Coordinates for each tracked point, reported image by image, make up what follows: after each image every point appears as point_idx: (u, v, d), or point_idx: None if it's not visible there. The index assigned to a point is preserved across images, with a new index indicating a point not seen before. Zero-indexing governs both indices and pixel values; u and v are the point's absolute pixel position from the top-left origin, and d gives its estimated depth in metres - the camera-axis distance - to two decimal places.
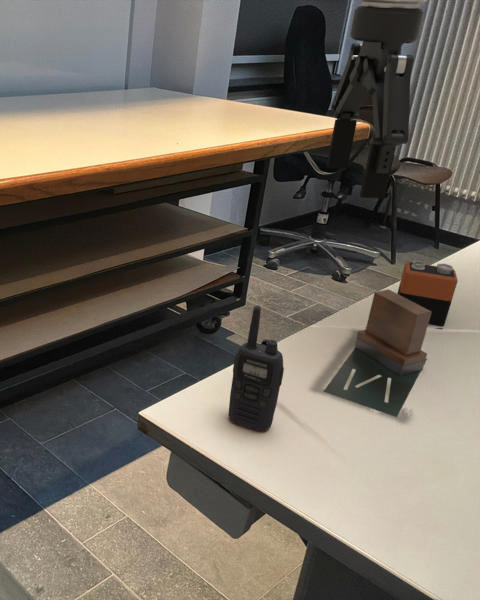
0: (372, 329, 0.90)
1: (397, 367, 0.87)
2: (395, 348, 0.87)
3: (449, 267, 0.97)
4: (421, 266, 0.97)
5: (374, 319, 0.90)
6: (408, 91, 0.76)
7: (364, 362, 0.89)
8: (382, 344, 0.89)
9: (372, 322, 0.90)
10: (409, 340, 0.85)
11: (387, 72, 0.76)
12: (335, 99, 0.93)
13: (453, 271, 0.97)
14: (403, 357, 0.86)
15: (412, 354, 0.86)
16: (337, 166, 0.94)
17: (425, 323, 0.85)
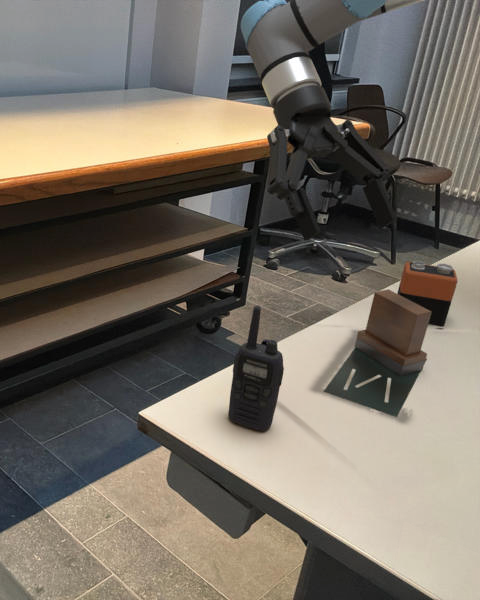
0: (372, 329, 0.90)
1: (397, 367, 0.87)
2: (395, 348, 0.87)
3: (449, 267, 0.97)
4: (421, 266, 0.97)
5: (374, 319, 0.90)
6: (278, 149, 0.92)
7: (364, 362, 0.89)
8: (382, 344, 0.89)
9: (372, 322, 0.90)
10: (409, 340, 0.85)
11: None
12: None
13: (453, 271, 0.97)
14: (403, 357, 0.86)
15: (412, 354, 0.86)
16: (385, 223, 0.95)
17: (425, 323, 0.85)
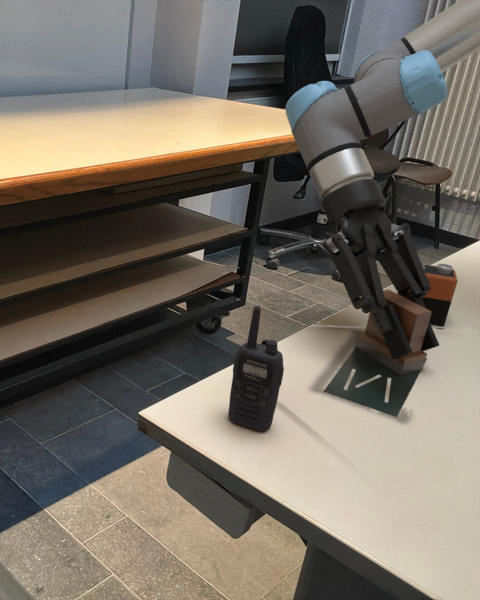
0: (372, 329, 0.90)
1: (397, 367, 0.87)
2: None
3: (449, 267, 0.97)
4: None
5: None
6: (348, 262, 0.86)
7: (364, 362, 0.89)
8: (382, 344, 0.89)
9: (372, 322, 0.90)
10: (409, 340, 0.85)
11: None
12: None
13: (453, 271, 0.97)
14: (403, 357, 0.86)
15: (412, 354, 0.86)
16: (426, 348, 0.87)
17: (425, 323, 0.85)
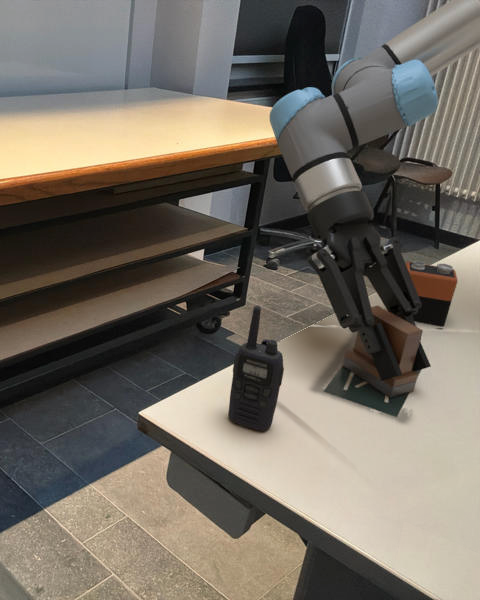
0: (360, 347, 0.86)
1: (387, 388, 0.82)
2: None
3: (449, 267, 0.97)
4: (421, 266, 0.97)
5: None
6: (334, 279, 0.82)
7: None
8: (371, 363, 0.84)
9: (360, 340, 0.86)
10: (399, 360, 0.81)
11: None
12: None
13: (453, 271, 0.97)
14: (393, 378, 0.81)
15: (402, 374, 0.82)
16: (416, 368, 0.82)
17: (416, 342, 0.80)
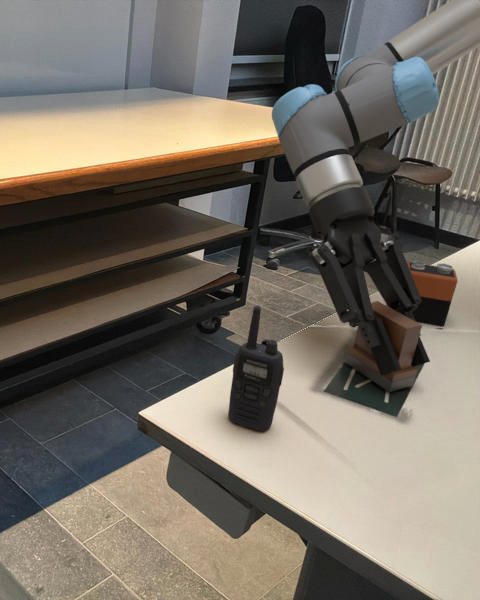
0: (360, 342, 0.87)
1: (387, 383, 0.83)
2: None
3: (449, 267, 0.97)
4: (421, 266, 0.97)
5: None
6: (335, 274, 0.82)
7: None
8: (371, 358, 0.85)
9: (360, 335, 0.86)
10: (398, 354, 0.81)
11: None
12: None
13: (453, 271, 0.97)
14: (392, 372, 0.82)
15: (402, 369, 0.83)
16: (416, 363, 0.83)
17: (415, 337, 0.81)
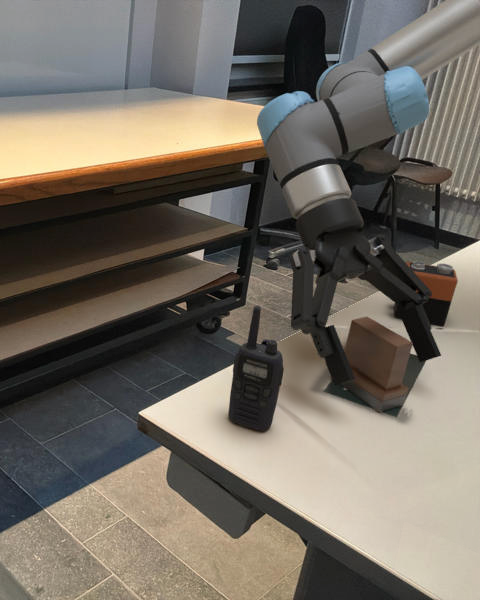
0: (349, 359, 0.83)
1: (376, 403, 0.79)
2: (374, 381, 0.80)
3: (449, 267, 0.97)
4: (421, 266, 0.97)
5: (351, 349, 0.82)
6: (303, 277, 0.79)
7: None
8: (360, 376, 0.81)
9: (349, 352, 0.83)
10: (388, 373, 0.78)
11: None
12: None
13: (453, 271, 0.97)
14: (382, 392, 0.78)
15: (392, 388, 0.79)
16: (426, 358, 0.82)
17: (406, 355, 0.77)
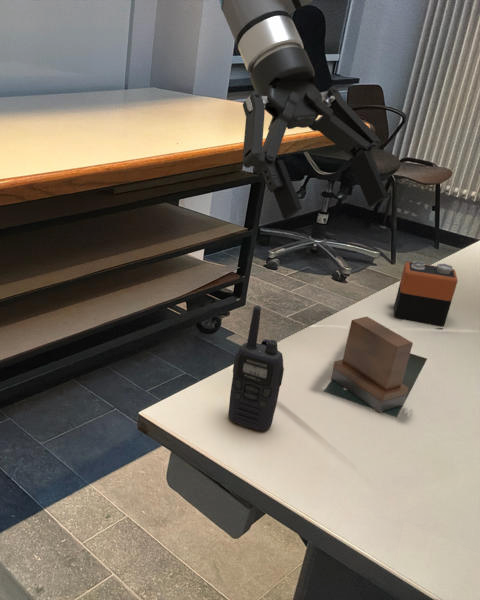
0: (349, 359, 0.83)
1: (376, 403, 0.79)
2: (374, 381, 0.80)
3: (449, 267, 0.97)
4: (421, 266, 0.97)
5: (351, 349, 0.82)
6: (254, 117, 0.82)
7: None
8: (360, 376, 0.81)
9: (349, 352, 0.83)
10: (388, 373, 0.78)
11: None
12: None
13: (453, 271, 0.97)
14: (382, 392, 0.78)
15: (392, 388, 0.79)
16: (374, 200, 0.85)
17: (406, 355, 0.77)
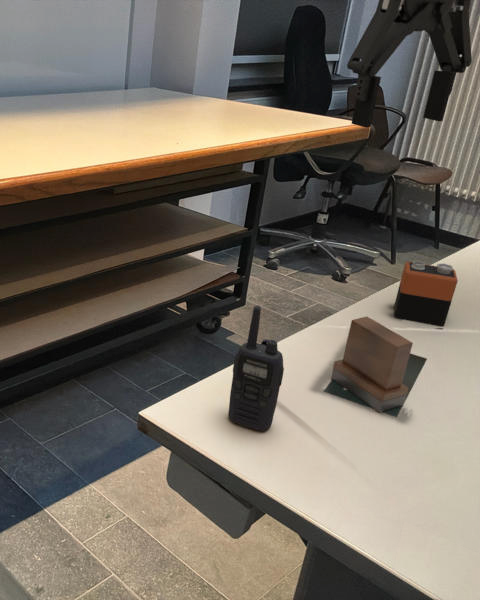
0: (349, 359, 0.83)
1: (376, 403, 0.79)
2: (374, 381, 0.80)
3: (449, 267, 0.97)
4: (421, 266, 0.97)
5: (351, 349, 0.82)
6: (382, 25, 0.85)
7: None
8: (360, 376, 0.81)
9: (349, 352, 0.83)
10: (388, 373, 0.78)
11: None
12: None
13: (453, 271, 0.97)
14: (382, 392, 0.78)
15: (392, 388, 0.79)
16: (430, 117, 0.97)
17: (406, 355, 0.77)
